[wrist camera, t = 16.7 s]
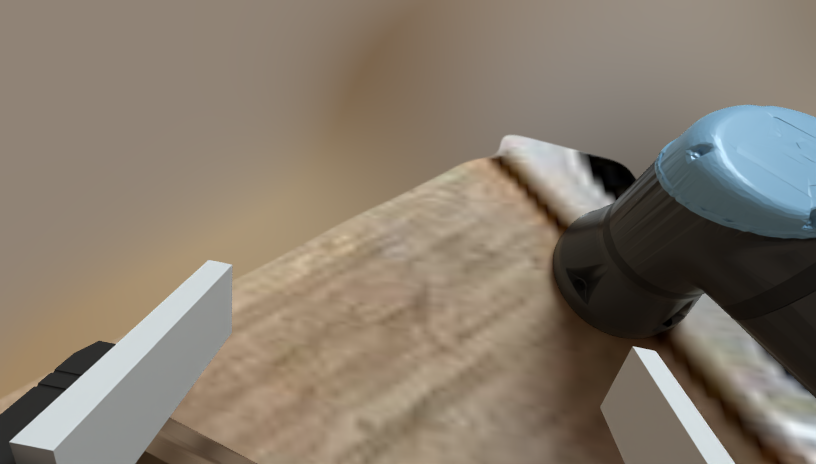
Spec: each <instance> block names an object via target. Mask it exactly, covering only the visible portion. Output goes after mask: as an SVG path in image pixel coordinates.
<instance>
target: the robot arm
mask: <svg viewBox="0 0 816 464" xmlns="http://www.w3.org/2000/svg"><path fill="white" fill-rule="evenodd" d="M553 265H554V273H555V278H556V281H557V284H558V286H559V289H560V291H561V293H562V295H563V296H564V298H565V299H566V301H567V302H568V304H569V305H570V306H571V307H572V309H573V310H574V311H575V312H576V313H577V314H578V315H579V316H580V317H581V318H583V319H584V320H585V321H586V322H588V323H589V324H591V325H592V326H594V327H595V328H597V329H599V330H601V331H603V332H605V333H608V334H611V335H614V336H618V337H622V338H631V339H638V338H646V337H650V336H653V335H656V334H659V333H661V332H664V331H666V330H669V329H671V328H672V327H674V326H675V325H677V324H678V323H679V322H681V321H682V320H683V319H684V318H685V316H686V315H687V314H688V313H689V311H690V310H691V309H692V307H693V306H694V305H695V303H696V302H697V301H698V299H699V298H700V297H701V296H702V294H704V293H706V294H707V295H708V296H709V297H710V298H711V299H712V300H713V301H714V302H716V303H717V304H718V305H719V306H720V307H721V308H722V309H723V310H724V311H725V312H726V313H727V314H729V315H730V316H731V318H733V319H734V320H735V321H736V322H737V323H738V324H739V325H740V326H741V327H742V328H743V329H744V330H745V331H746V332H747V333H748V334H749V335H750V336H751V337H752V338H754V339H755V340H756V341H757V342H758V343H759V344H760V345H761V346H762V347H763V348H764V349H765V350H766V351H767V352H768V353H769V354H770V355H771V356H772V357H773V358H774V359H775V360H777V361H778V362H779V363H780V364H781V365H782V366H783V367H784V368H785V369H786V370H787V371H788V372H789V373H790V374H791V375H792V376H793V377H794V378H795V379H796V380H797V381H799V382H800V383H801V384H802V385H803V386H804V387H805V388H806V389H807V390H808V391H809V392H810V393H811V394H812V395H813V396H814V397H815V398H816V118H815V117H813V116H811V115H808V114H805V113H801V112H798V111H794V110H791V109H787V108H781V107H776V106H764V107H762V106H756V105H740V106H733V107H728V108H724V109H721V110H717V111H715V112H712V113H710V114H708V115H706V116H704V117H703V118H701V119H699V120H698V121H697V122H695V123H694V124H693V125H692V126H691V127H690V128H689V129H687V130H686V131H685V132H684V133H683V134H682V135H681V136H680V137H679V138H677V139H675V140H673V141H672V142H670V143H669V144H668V145H667V146H665V147H664V148H663V150H662V151H661V152H660V153H659V156H658V158H657V159H656V161H655V162H654V163H653V164H652V165H651V166H650V167H649V168H648V169H647V170H646V171H645V172H644V173H643V174H642V175H641V176H640V177H639V178H638V179H637V180H636V181H635V182H634V183H633V184H632V185H631V186H630V187H629V188H628V189H627V190H626V191H625V192H624V193H623V194H622V195H621V196H620V197H619V198H618V199H617V200H616V201H615V202H614V203H613V204H611V205H608V206H606V207H603V208H601V209H598V210H595V211H592V212H589V213H586V214H585V215H583V216H581V217H580V218H578V219H577V220H576V221H574V222H573V223H572V224H571V225H570V226H569V227H568V229H567V230H566V231H565V232H564V233H563V234H562V236H561V237H560V239H559V241H558V243H557V245H556V248H555V252H554V260H553ZM231 333H232V265H231V264H226V263H221V262H216V261H211V260H208V261H207V262H206V263H205V264H204V265H203V266H202V267H200V268H199V269H198V270H197V271H196V272H195V273H194V274H193V275H192V276H191V277H189V278H188V279H187V280H186V281H185V282H184V283H183V284H182V285H181V286H180V287H178V288H177V289H176V290H175V291H174V292H173V293H172V294H171V295H170V296H169V297H168V298H166V299H165V301H163V302H162V303H161V304H160V305H159V306H158V307H157V308H155V309H154V310H153V311H152V312H151V313H150V314H149V315H148V316H147V317H146V318H145V319H144V320H142V321H141V322H140V323H139V324H138V325H137V326H136V327H135V328H134V329H132V330H131V331H130V332H129V333H128V334H127V335H126V336H125V337H124V338H123V339H121V340H120V341H119V342H118V343H117V344H112V343H107V342H102V341H98V342H96V343H94V344H92V345H90V346H88V347H86V348H84V349H82V350H80V351H78V352H76V353H74V354H73V355H71V356H70V357H69V358H68V359H67V360H65V361H64V362H63V363H62V364H61V365H59V366H58V367H57V368H56V369H55V371H54V372H53V373H50V374H49V375H47V376H46V377H45V378H44V379H43V380H41V381H40V382H39V383H38V386H37V387H33V388H32V389H31V390H29V391H28V392H27V393H26V394H25V395H23V396H22V397H21V398H20V399H19V400H17V401H16V402H15V403H14V404H13V405H11V406H10V407H9V408H8V409H7V410H5V411H4V412H3V413H2V414H1V415H0V464H135V463H136V462H137V461H138V459H139V458H140V456H141V455H142V454H143V452H144V451H145V450H146V448H147V447H148V446H149V444H150V443H151V442H152V440H153V439H154V437H155V436H156V435H157V433H158V432H159V431H160V429H161V428H162V427H163V425H164V424H165V423H166V421H167V420H168V418H169V417H170V416H171V414H172V413H173V412H174V410H175V409H176V408H177V406H178V405H179V404H180V402H181V401H182V399H183V398H184V397H185V395H186V394H187V393H188V391H189V390H190V389H191V387H192V386H193V385H194V383H195V382H196V380H197V379H198V378H199V376H200V375H201V374H202V372H203V371H204V370H205V368H206V367H207V365H208V364H209V363H210V361H211V360H212V359H213V357H214V356H215V355H216V353H217V352H218V351H219V349H220V348H221V346H222V345H223V344H224V342H225V341H226V340H227V338H228V337H229V336H230V334H231ZM600 408H601V411H602V413H603V415H604V417H605V420H606V422H607V424H608V427H609V429H610V431H611V433H612V436H613V438H614V440H615V442H616V445H617V447H618V449H619V452H620V454H621V456H622V458H623V461H624V463H625V464H735V463H734V461H733V460H732V458H731V457H730V456H729V454H728V453H727V451H726V450H725V449H724V447H723V446H722V444H721V443H720V441H719V440H718V439H717V437H716V436H715V434H714V433H713V431H712V430H711V429H710V427H709V426H708V424H707V423H706V422H705V420H704V419H703V417H702V416H701V414H700V413H699V412H698V410H697V409H696V407H695V406H694V405H693V403H692V402H691V400H690V399H689V397H688V396H687V395H686V393H685V392H684V390H683V389H682V388H681V386H680V385H679V383H678V382H677V380H676V379H675V378H674V376H673V375H672V373H671V372H670V371H669V369H668V368H667V366H666V365H665V363H664V362H663V361H662V359H661V358H660V356H659V355H658V354H657V352H656V351H653V350H648V349H644V348H639V347H634V346H632V348H631V350H630V352H629V354H628V356H627V358H626V360H625V361H624V363H623V365H622V367H621V369H620V371H619V373H618V374H617V376H616V378H615V380H614V382H613V384H612V386H611V387H610V389H609V391H608V393H607V395H606V397H605V399H604V401H603V402H602V404H601V406H600Z"/></svg>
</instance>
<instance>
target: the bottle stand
mask: <svg viewBox="0 0 816 464" xmlns="http://www.w3.org/2000/svg"><path fill="white" fill-rule="evenodd" d="M135 464H257V463H255V462H253V461H251V460H249V459H247V458H246V457H244V456H242V455H240V454H238V453H236V452H234V451H232V450H230V449H228V448H227V447H225V446H223V445H221V444H219V443H217V442H215V441H213V440H211V439H209V438H208V437H206V436H204V435H202V434H200V433H198V432H196V431H194V430H192V429H190V428H189V427H187V426H185V425H183V424H181V423H179V422H177V421H175V420H173V419H172V418H170V417H169V418H168V420H167V421H166V423H165V424H164V425H163V427H162V428H161V429H160V431H159V432H158V433H157V435H156V436H155V437H154V439H153V440H152V442H151V443H150V444H149V446H148V447H147V448H146V450H145V451H144V452H143V454H142V455H141V456H140V458H139V459H138V461H137V462H136V463H135Z"/></svg>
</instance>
